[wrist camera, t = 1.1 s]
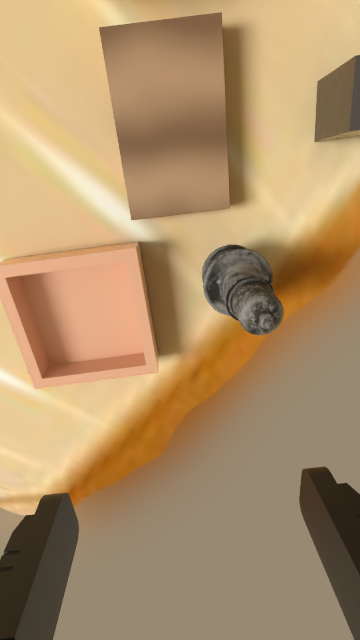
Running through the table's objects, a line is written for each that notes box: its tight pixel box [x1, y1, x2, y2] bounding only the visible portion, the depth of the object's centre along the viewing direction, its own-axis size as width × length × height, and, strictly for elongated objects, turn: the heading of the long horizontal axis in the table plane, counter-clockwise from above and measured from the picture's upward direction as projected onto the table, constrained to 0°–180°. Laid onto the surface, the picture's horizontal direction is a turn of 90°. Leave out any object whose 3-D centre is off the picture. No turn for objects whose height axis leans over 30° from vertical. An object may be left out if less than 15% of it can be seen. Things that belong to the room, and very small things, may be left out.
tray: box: [0, 242, 159, 389], centre depth 28 cm, size 12×12×3 cm
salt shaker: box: [202, 245, 284, 335], centre depth 23 cm, size 6×6×12 cm
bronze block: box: [99, 12, 230, 220], centre depth 23 cm, size 12×8×2 cm, turn 6°
